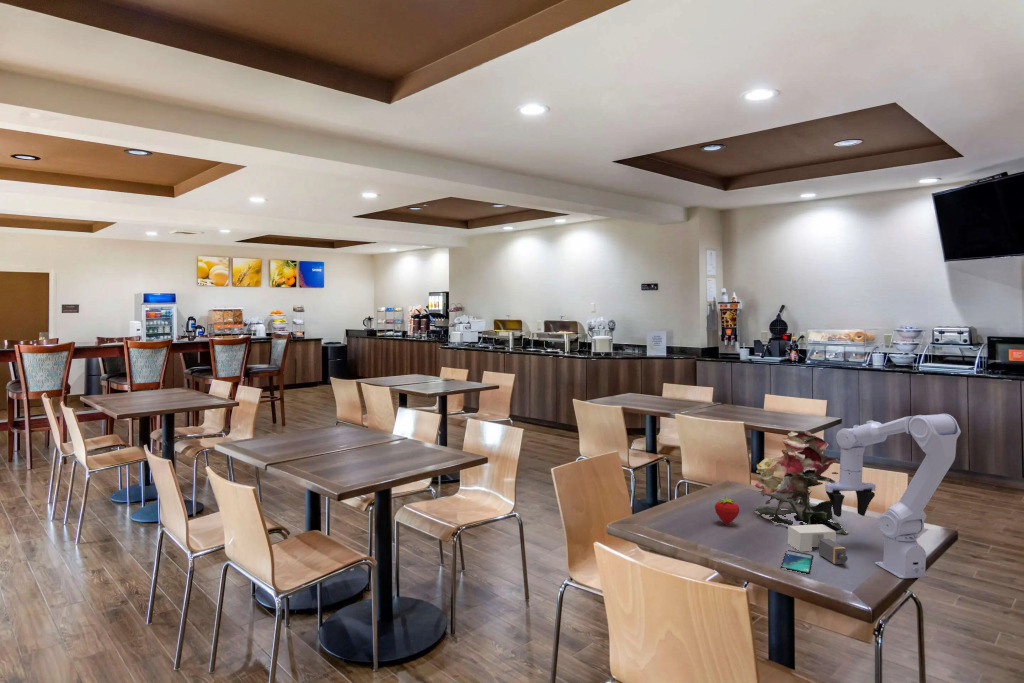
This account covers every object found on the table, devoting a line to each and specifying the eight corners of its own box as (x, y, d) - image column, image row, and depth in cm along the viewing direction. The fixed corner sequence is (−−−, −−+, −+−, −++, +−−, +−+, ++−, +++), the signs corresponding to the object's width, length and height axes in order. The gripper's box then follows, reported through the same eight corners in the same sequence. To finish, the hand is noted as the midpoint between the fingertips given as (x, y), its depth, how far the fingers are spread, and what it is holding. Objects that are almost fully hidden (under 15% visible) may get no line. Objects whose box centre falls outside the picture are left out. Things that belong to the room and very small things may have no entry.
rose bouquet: (812, 505, 216) (815, 421, 214) (858, 536, 186) (862, 439, 185) (740, 504, 216) (742, 421, 214) (774, 535, 187) (777, 438, 185)
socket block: (835, 550, 175) (835, 531, 175) (799, 551, 174) (800, 533, 174) (822, 542, 181) (822, 524, 181) (787, 543, 180) (788, 525, 179)
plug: (849, 566, 163) (850, 550, 163) (838, 566, 163) (839, 551, 163) (828, 553, 172) (829, 538, 172) (818, 554, 172) (819, 539, 171)
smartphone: (813, 554, 171) (809, 574, 158) (813, 557, 171) (809, 576, 158) (786, 549, 175) (780, 567, 162) (785, 551, 175) (779, 570, 162)
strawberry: (737, 529, 191) (738, 498, 190) (712, 525, 194) (713, 495, 194) (740, 524, 196) (741, 493, 196) (715, 520, 200) (716, 490, 199)
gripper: (864, 465, 182) (862, 509, 182) (819, 466, 180) (817, 511, 180) (881, 471, 175) (879, 517, 175) (834, 472, 173) (833, 519, 173)
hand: (849, 515), depth 177 cm, fingers open, 7 cm apart
